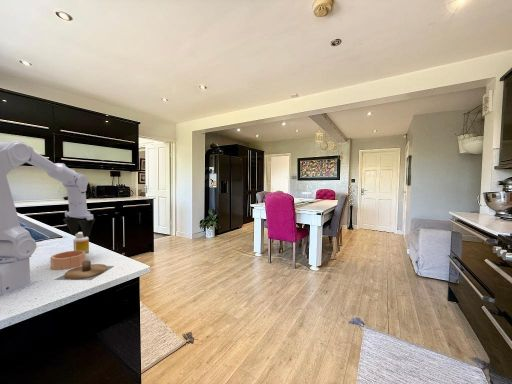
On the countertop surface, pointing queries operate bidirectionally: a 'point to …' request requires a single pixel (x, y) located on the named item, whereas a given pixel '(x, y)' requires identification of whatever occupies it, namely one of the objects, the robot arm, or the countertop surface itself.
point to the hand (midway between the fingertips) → (80, 235)
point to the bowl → (67, 260)
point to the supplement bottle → (81, 243)
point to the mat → (85, 278)
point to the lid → (85, 271)
